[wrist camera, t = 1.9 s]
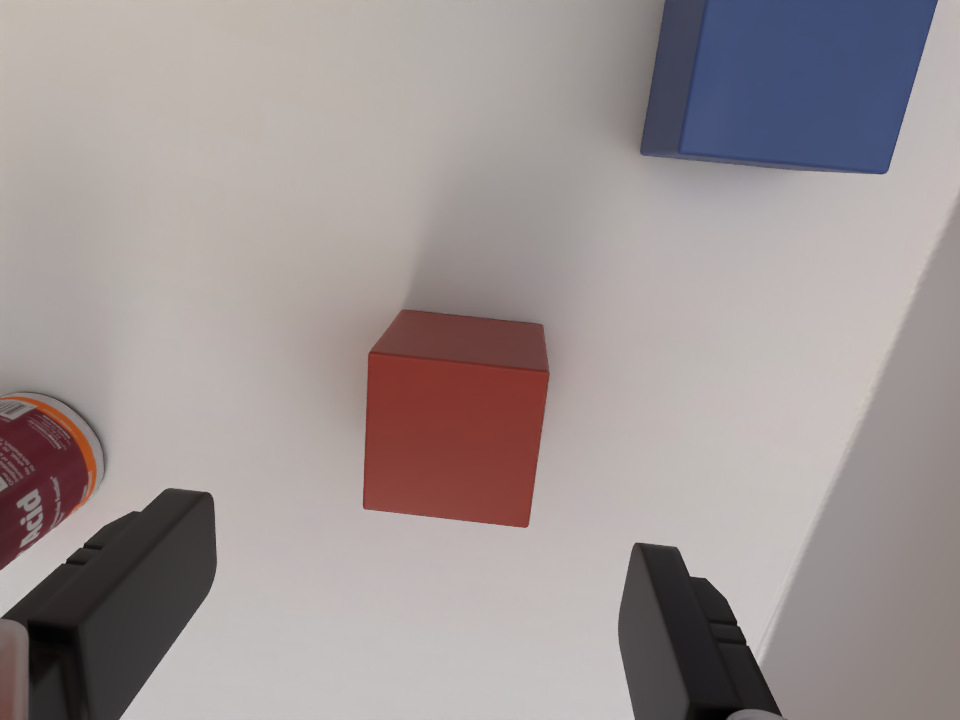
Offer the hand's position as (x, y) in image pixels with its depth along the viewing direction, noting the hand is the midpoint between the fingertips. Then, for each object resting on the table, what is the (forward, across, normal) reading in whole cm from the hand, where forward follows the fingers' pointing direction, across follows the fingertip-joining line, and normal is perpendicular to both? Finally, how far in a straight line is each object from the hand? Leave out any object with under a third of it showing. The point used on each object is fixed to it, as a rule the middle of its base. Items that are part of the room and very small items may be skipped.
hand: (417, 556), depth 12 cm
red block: (+9, 0, 0) cm, 9 cm away
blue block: (+9, -7, -10) cm, 15 cm away
